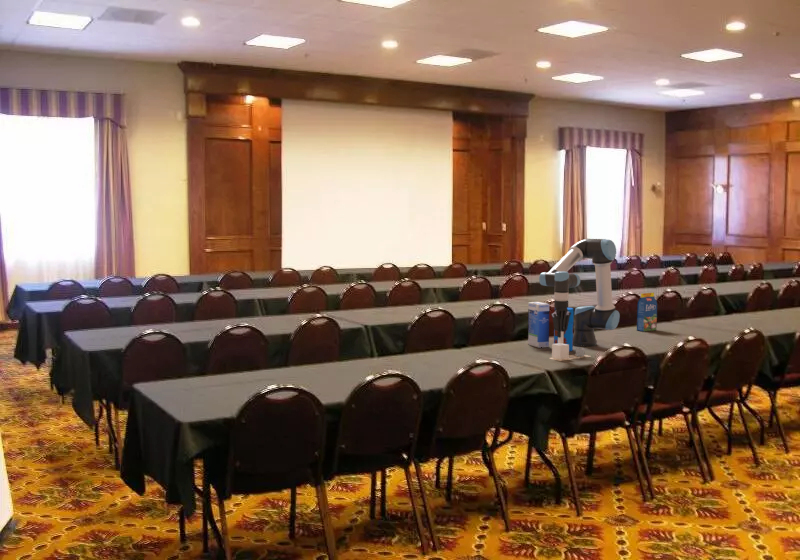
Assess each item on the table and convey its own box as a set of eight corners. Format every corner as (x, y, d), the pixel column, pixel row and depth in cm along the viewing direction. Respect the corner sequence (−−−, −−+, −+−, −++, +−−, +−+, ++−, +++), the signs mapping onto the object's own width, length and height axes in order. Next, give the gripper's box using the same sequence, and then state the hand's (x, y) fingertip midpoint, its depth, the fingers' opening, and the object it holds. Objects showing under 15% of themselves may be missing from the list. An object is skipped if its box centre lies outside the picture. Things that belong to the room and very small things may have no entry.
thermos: (572, 353, 487) (573, 309, 485) (553, 352, 489) (554, 309, 487) (572, 350, 498) (573, 307, 495) (554, 349, 500) (554, 306, 497)
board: (579, 355, 481) (579, 353, 481) (591, 357, 474) (591, 356, 474) (548, 360, 468) (548, 358, 468) (560, 362, 461) (560, 360, 460)
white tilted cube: (560, 356, 472) (560, 343, 471) (568, 358, 467) (569, 344, 466) (551, 358, 468) (552, 344, 468) (560, 359, 463) (560, 345, 462)
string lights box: (549, 347, 507) (550, 304, 505) (538, 348, 505) (538, 304, 502) (538, 343, 520) (538, 301, 517) (527, 344, 517) (527, 301, 515)
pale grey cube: (579, 355, 477) (580, 348, 476) (584, 356, 474) (584, 349, 474) (575, 355, 475) (575, 348, 474) (580, 356, 472) (580, 349, 472)
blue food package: (636, 330, 570) (637, 293, 567) (649, 329, 576) (650, 292, 573) (643, 331, 564) (644, 294, 562) (656, 330, 570) (657, 292, 568)
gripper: (565, 298, 471) (564, 341, 473) (547, 300, 464) (546, 343, 466) (575, 299, 465) (574, 343, 467) (557, 301, 458) (556, 345, 460)
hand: (560, 343), depth 467 cm, fingers closed
